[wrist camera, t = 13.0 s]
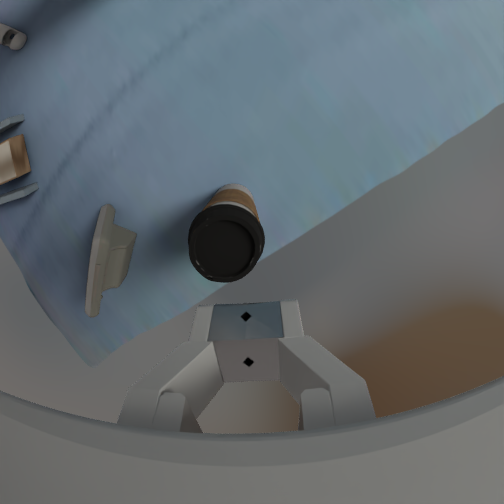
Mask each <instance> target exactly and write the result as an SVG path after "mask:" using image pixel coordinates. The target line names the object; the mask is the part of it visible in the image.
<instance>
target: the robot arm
mask: <svg viewBox="0 0 504 504" xmlns="http://www.w3.org/2000/svg"><path fill="white" fill-rule="evenodd" d="M268 380H280V382H281V383H282V384H283V386H284V387H285V388H286V389H287V390H288V392H289V393H290V394H291V395H292V397H293V398H294V399H295V400H296V401H297V402H298V404H299V405H300V413H299V426H298V431H290V432H274V433H252V434H212V433H203V432H202V430H201V428H200V426H199V424H198V422H197V420H196V419H197V418H198V416H199V415H200V414H201V412H202V411H203V410H204V409H205V408H206V406H207V405H208V404H209V402H210V401H211V400H212V399H213V397H214V396H215V395H216V393H217V392H218V391H219V390H220V388H221V387H222V386H223V384H224V383H223V382H244V381H268ZM0 504H504V376H502V377H500V378H498V379H496V380H494V381H491V382H489V383H487V384H484V385H482V386H480V387H477V388H475V389H472V390H470V391H467V392H465V393H462V394H459V395H456V396H454V397H451V398H448V399H445V400H442V401H439V402H436V403H433V404H430V405H426V406H423V407H420V408H416V409H413V410H409V411H405V412H402V413H398V414H394V415H390V416H385V417H381V418H376V416H375V412H374V409H373V405H372V402H371V398H370V395H369V392H368V388H367V385H366V382H365V380H364V379H363V378H361V377H360V376H359V375H358V374H356V373H355V372H354V371H353V370H351V369H350V368H349V367H348V366H346V365H345V364H344V363H342V362H341V361H340V360H339V359H337V358H336V357H335V356H334V355H333V354H331V353H330V352H329V351H328V350H326V349H325V348H324V347H323V346H321V345H320V344H319V343H318V342H316V341H315V340H314V339H313V338H311V337H310V336H304V333H303V327H302V322H301V317H300V311H299V306H298V301H297V300H296V299H290V300H282V301H275V302H262V303H248V304H247V303H243V304H216V305H199V306H198V307H197V309H196V312H195V316H194V320H193V324H192V329H191V332H190V336H189V340H188V342H183V343H182V344H181V345H179V346H178V347H177V348H176V349H175V350H174V351H172V352H171V353H170V354H169V355H168V356H166V357H165V358H164V359H163V360H162V361H161V362H159V363H158V364H157V365H156V366H155V367H153V368H152V369H151V370H150V371H149V372H147V373H146V374H145V375H144V376H143V377H141V378H140V379H139V380H138V381H137V382H135V384H133V385H132V386H131V387H130V388H129V389H128V392H127V395H126V398H125V401H124V404H123V407H122V410H121V413H120V416H119V419H118V422H117V424H115V423H110V422H105V421H100V420H95V419H90V418H86V417H82V416H78V415H73V414H70V413H66V412H62V411H58V410H55V409H52V408H48V407H45V406H42V405H39V404H36V403H33V402H30V401H27V400H24V399H21V398H18V397H15V396H13V395H10V394H8V393H5V392H3V391H0Z"/></svg>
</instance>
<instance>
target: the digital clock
mask: <svg viewBox="0 0 504 504" xmlns="http://www.w3.org/2000/svg"><path fill="white" fill-rule="evenodd" d="M114 215H115V209H114V208H113V206H111V205H110V204H106V205H104V206H103V207H101V210H100V213H99V217H98V221H97V225H96V228H95V232H94V237H93V241H92V247H91V254H90V261H89V269H88V278H87V288H86V299H85V313H86V314H87V315H88V316H89V317H95V316H97V315H98V314H99V309H100V301H101V299H102V297H103V296H102V295H101V293H102V292H103V291H105V290H107V289H110V288H118V287H119V286H120V285H121V283H122V281H123V280H124V278H125V277H126V275H127V272H128V268H129V263H130V259H131V255H132V251H133V247H134V243H135V239H136V235H137V234H136V233H135V232H132V231H130V230H127V229H125V228H123V227H120V226H118V225H116V224H113V221H114Z"/></svg>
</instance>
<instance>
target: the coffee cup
mask: <svg viewBox="0 0 504 504" xmlns="http://www.w3.org/2000/svg"><path fill="white" fill-rule="evenodd" d="M188 244H189V256H190V260H191V263H192V264H193V266H194V268H195V269H196V270H197V271H198V272H199V273H200V274H201V275H202V276H204V277H205V278H206V279H208V280H210V281H215V282H233V281H237V280H239V279H241V278H243V277H244V276H246V275H247V274H248V273H249V272H250V271H251V270H252V269H253V268H254V266H255V265H256V263H257V261H258V260H259V258H260V256H261V254H262V252H263V248H264V244H265V236H264V231H263V228H262V226H261V224H260V221H259V217H258V214H257V210H256V207H255V204H254V199H253V196H252V194H251V193H250V191H249V190H248V189H247V188H246V187H244V186H242V185H239V184H227V185H225V186H223V187H222V188H220V189H219V190H218V191H217V193H216V194H215V195H214V197H213V198H212V199H211V200H210V201H209V203H208V204H207V205H206V207H205V208H204V209H203V210H202V212H200V213H199V214H198V215H197V216H196V217H195V219H194V220H193V222H192V224H191V226H190V229H189V236H188Z"/></svg>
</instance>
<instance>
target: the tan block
mask: <svg viewBox="0 0 504 504" xmlns="http://www.w3.org/2000/svg"><path fill="white" fill-rule="evenodd" d="M30 171H31V169H30V164H29V160H28V156H27V151H26V146H25V141H24V136H23V134H21V135H18V136H15V137H12V138H9V139H7V140H5V141H4V142H2V143H0V185H1V184H3V183H6V182H8V181H10V180H13V179H15V178H18V177H20V176H22V175H24V174H26V173H28V172H30Z"/></svg>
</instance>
